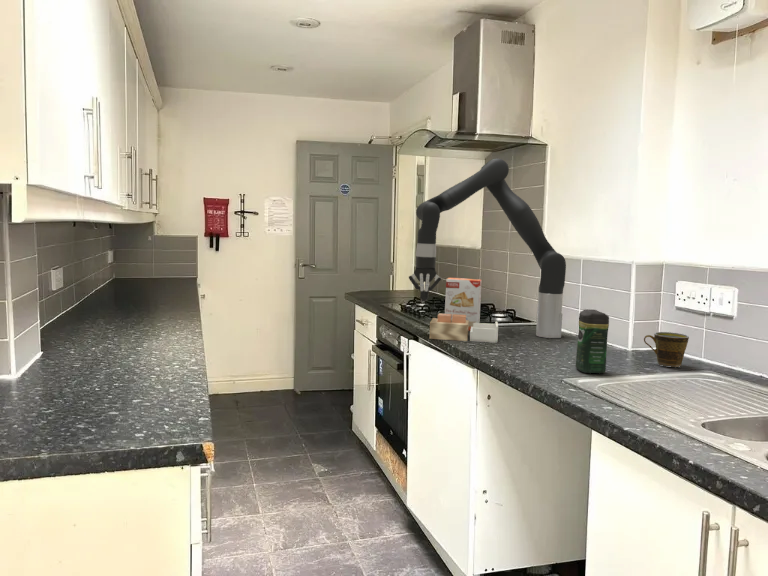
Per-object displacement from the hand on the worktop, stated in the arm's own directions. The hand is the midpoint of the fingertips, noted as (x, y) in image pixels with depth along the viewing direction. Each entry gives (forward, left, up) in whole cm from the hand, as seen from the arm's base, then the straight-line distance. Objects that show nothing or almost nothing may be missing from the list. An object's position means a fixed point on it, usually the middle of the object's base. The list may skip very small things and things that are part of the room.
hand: (424, 300), depth 233 cm
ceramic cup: (-80, +27, -14) cm, 86 cm away
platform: (-10, 0, -13) cm, 17 cm away
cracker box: (-14, -19, -14) cm, 27 cm away
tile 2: (-14, 0, -7) cm, 16 cm away
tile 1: (-8, 0, -7) cm, 11 cm away
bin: (-23, 0, -13) cm, 27 cm away
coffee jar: (-55, +42, -14) cm, 71 cm away
